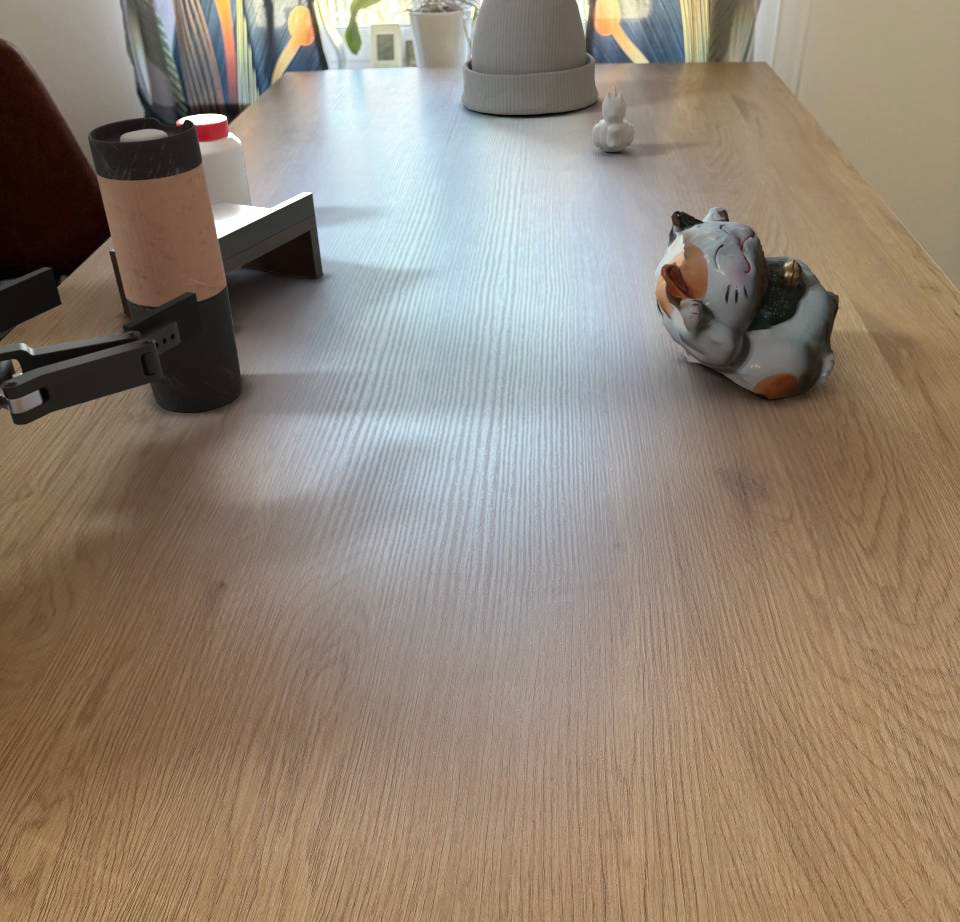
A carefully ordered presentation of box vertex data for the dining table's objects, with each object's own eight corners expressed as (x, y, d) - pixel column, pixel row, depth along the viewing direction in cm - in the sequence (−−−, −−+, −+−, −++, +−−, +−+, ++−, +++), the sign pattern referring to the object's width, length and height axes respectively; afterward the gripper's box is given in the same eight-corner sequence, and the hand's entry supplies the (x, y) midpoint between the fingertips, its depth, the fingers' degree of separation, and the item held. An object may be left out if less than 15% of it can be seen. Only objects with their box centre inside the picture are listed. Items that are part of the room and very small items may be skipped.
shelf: (124, 314, 102) (103, 228, 97) (228, 260, 113) (214, 181, 108) (224, 333, 98) (207, 243, 93) (323, 275, 109) (312, 192, 104)
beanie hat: (601, 149, 173) (611, 15, 170) (584, 106, 152) (596, -48, 149) (474, 149, 177) (481, 18, 174) (441, 107, 157) (449, -43, 153)
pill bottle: (173, 224, 124) (152, 121, 117) (231, 209, 128) (213, 108, 121) (209, 238, 119) (188, 132, 112) (267, 222, 123) (251, 118, 116)
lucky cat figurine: (825, 413, 80) (758, 259, 72) (680, 440, 88) (604, 304, 80) (858, 289, 88) (801, 137, 80) (722, 324, 96) (657, 188, 87)
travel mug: (161, 422, 84) (94, 148, 72) (143, 385, 89) (78, 125, 77) (256, 401, 86) (207, 132, 74) (233, 366, 92) (184, 111, 79)
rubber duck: (631, 145, 144) (634, 79, 139) (635, 158, 138) (638, 90, 134) (590, 146, 144) (592, 80, 139) (592, 159, 139) (594, 91, 134)
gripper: (-233, 439, 70) (14, 323, 85) (44, 522, 61) (269, 375, 75) (-288, 328, 66) (-17, 225, 80) (3, 399, 56) (251, 268, 71)
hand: (122, 297), depth 78 cm, fingers open, 13 cm apart
